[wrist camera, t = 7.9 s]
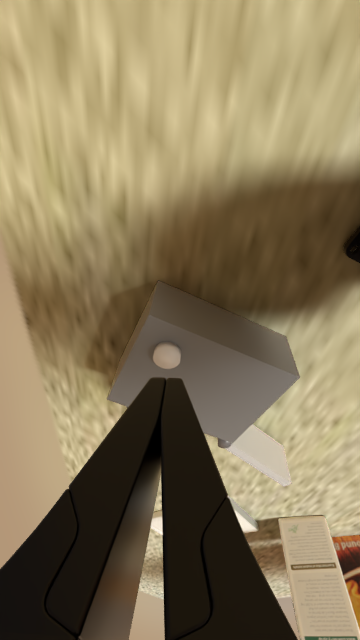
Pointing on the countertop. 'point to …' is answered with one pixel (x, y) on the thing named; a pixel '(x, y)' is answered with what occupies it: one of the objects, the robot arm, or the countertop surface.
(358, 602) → the cereal box
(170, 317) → the camera block
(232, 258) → the countertop surface
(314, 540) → the syrup box
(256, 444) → the side door
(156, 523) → the external hard drive
